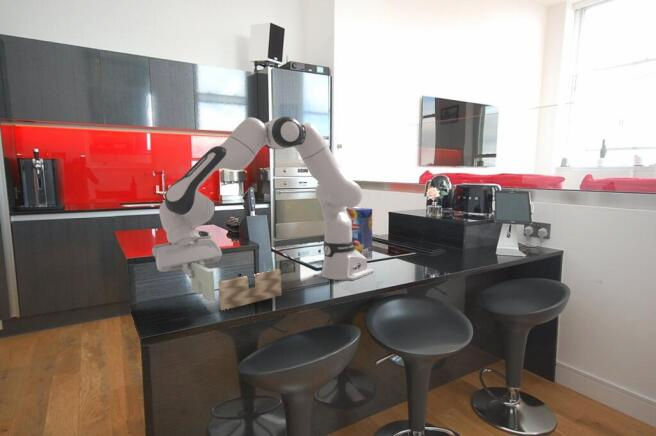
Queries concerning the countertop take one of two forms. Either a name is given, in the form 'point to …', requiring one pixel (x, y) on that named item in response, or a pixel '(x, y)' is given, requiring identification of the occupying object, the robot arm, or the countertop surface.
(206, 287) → the sage plate
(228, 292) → the brown zigzag slotted board
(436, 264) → the countertop surface
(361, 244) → the juice carton
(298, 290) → the countertop surface
